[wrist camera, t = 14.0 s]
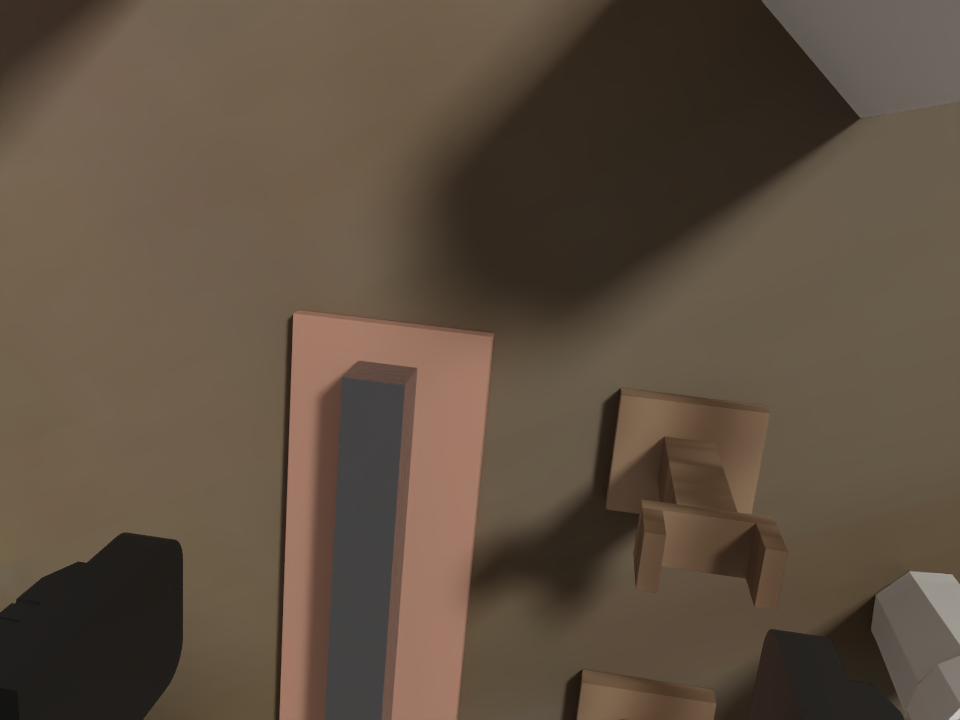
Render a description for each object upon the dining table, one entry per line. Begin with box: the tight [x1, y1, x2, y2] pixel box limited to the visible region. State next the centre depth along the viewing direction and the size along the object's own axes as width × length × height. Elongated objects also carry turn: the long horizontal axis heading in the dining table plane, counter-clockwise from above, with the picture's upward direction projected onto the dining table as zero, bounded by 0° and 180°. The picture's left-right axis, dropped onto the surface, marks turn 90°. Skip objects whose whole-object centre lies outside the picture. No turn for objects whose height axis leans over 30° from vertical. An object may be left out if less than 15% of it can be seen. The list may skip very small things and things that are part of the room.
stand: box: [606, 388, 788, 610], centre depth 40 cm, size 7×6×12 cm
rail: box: [325, 361, 418, 720], centre depth 48 cm, size 3×24×3 cm, turn 175°
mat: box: [279, 310, 494, 720], centre depth 49 cm, size 10×28×1 cm, turn 175°
